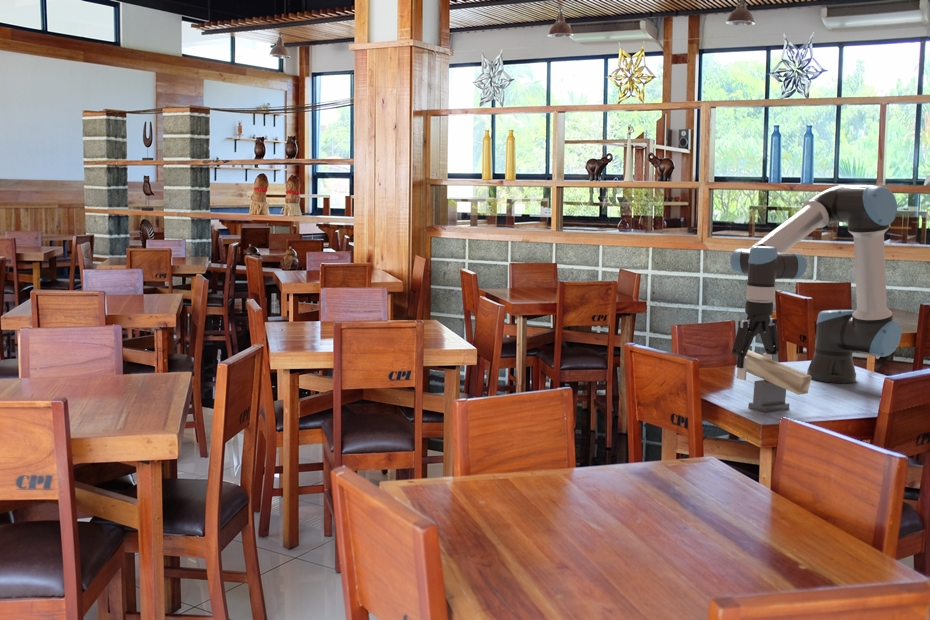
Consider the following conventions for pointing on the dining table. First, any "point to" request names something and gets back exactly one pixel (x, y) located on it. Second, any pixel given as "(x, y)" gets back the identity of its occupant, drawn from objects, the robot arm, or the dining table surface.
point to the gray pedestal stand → (768, 397)
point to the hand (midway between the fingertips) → (753, 377)
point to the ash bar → (777, 373)
